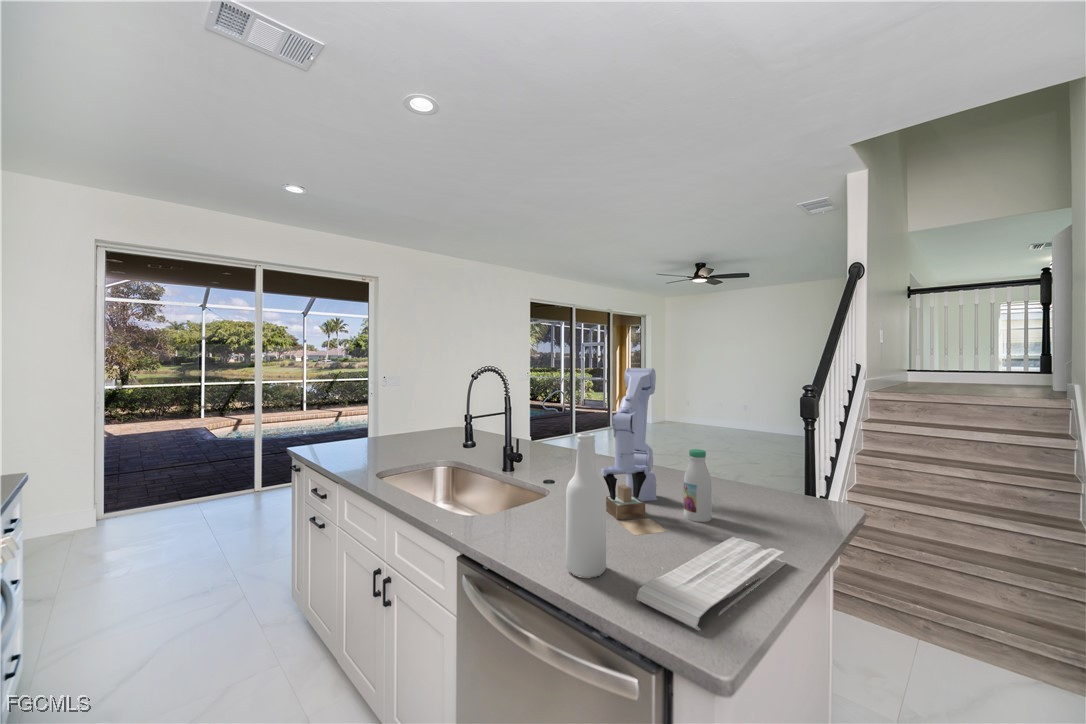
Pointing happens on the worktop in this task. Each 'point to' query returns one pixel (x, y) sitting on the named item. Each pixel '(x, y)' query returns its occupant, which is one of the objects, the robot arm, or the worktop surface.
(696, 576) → the hand towel
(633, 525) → the mat
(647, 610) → the worktop surface
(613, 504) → the box
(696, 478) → the milk bottle
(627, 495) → the lid
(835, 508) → the worktop surface
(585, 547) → the alcohol
